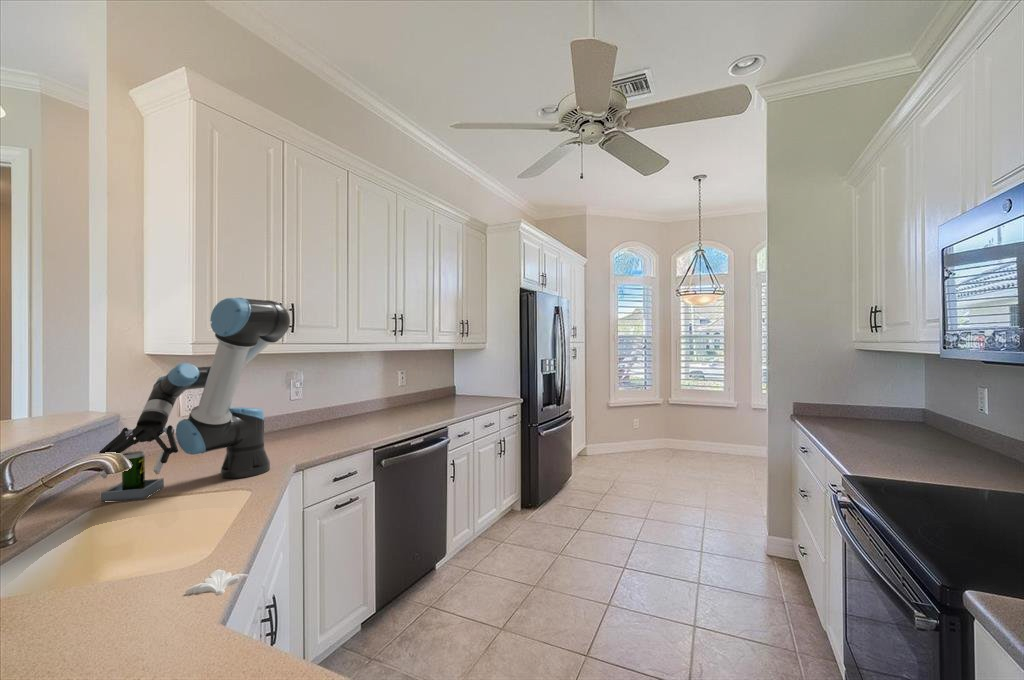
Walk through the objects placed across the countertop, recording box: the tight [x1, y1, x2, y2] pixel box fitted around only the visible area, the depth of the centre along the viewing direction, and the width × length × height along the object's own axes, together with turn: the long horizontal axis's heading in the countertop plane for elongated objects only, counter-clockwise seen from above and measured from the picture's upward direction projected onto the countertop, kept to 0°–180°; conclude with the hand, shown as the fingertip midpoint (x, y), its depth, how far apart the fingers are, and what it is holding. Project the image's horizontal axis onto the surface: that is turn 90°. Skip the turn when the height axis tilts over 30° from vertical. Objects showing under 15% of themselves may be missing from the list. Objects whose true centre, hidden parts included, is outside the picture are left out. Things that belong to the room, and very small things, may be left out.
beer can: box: [121, 450, 146, 490], centre depth 137 cm, size 5×5×12 cm
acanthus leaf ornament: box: [185, 568, 249, 596], centre depth 85 cm, size 8×7×2 cm
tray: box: [100, 477, 165, 503], centre depth 137 cm, size 11×11×3 cm
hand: (129, 474), depth 135 cm, fingers open, 13 cm apart
